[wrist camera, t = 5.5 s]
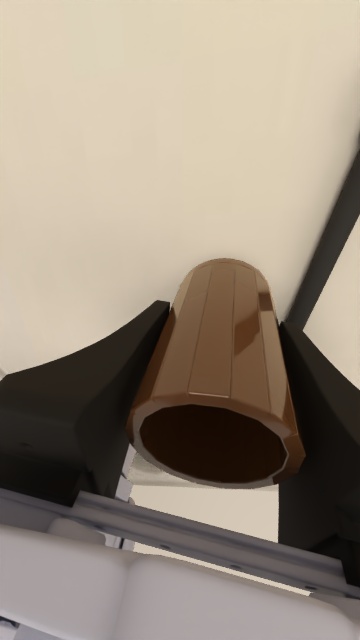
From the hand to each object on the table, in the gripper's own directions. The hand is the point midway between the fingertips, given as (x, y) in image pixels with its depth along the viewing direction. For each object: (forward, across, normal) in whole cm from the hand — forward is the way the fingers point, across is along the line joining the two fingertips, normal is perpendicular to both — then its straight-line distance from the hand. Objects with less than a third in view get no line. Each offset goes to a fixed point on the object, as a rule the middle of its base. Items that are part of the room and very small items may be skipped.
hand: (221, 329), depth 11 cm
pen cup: (+2, 0, 0) cm, 2 cm away
